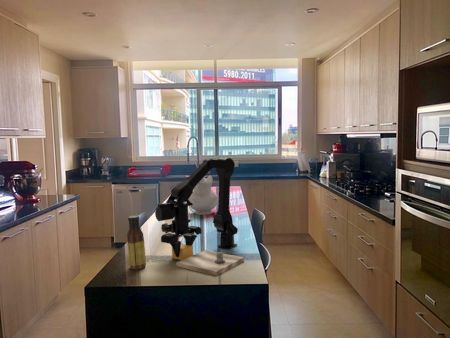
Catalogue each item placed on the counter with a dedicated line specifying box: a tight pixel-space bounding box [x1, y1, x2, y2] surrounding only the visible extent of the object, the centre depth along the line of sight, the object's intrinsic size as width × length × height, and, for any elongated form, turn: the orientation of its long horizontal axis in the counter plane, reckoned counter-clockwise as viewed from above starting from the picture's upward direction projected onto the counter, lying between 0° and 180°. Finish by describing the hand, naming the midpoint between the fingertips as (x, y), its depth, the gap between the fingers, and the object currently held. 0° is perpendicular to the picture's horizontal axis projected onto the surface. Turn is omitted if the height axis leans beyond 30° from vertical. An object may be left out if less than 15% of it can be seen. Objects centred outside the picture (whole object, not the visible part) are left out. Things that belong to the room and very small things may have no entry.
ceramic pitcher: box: [188, 174, 219, 216], centre depth 238 cm, size 22×20×25 cm
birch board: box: [176, 249, 245, 276], centre depth 142 cm, size 18×19×5 cm
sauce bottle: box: [126, 215, 147, 271], centre depth 139 cm, size 7×6×20 cm
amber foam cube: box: [171, 243, 194, 261], centre depth 150 cm, size 6×6×4 cm
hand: (182, 254), depth 151 cm, fingers closed on amber foam cube, 6 cm apart
